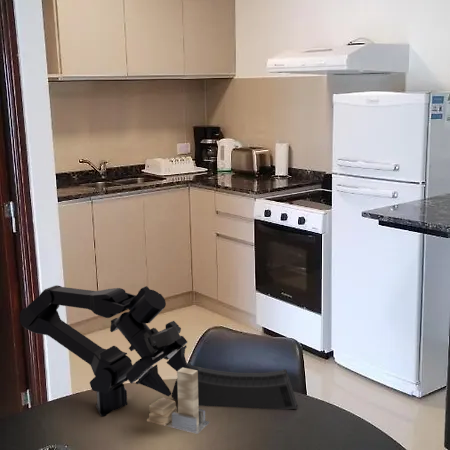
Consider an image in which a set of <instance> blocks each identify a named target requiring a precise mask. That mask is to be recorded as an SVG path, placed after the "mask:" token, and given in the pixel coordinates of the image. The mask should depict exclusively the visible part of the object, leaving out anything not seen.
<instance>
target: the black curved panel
mask: <svg viewBox="0 0 450 450" xmlns="http://www.w3.org/2000/svg"><path fill="white" fill-rule="evenodd" d="M187 365H188V368H189V369H193V370H198V405H199V406H200V407H223V408H244V409H245V408H246V409H247V408H249V409H267V410H293V409H294V410H297V408H298V403H297V400H296V396H295V393H294V389H293V386H292V383H291V379H290V376H289V374H288V371H287V369H286V368H285V369H283V370H277V371H270V372H232V371H231V372H230V371H222V370H215V369H210V368H204V367H200V366H195V365H193V364H191V363H190V362H187ZM170 396H171V398H172V399H173V400H174V401H178V386H177V379H176V380H175V382H174V384H173V389H172V391H171V395H170Z"/></svg>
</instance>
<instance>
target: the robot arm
mask: <svg viewBox="0 0 450 450" xmlns="http://www.w3.org/2000/svg"><path fill="white" fill-rule="evenodd" d="M166 304H167V303H166V299H165V297H164V296H163V294H162V293H160V292H158V291H156V290H154V289H150V288H149V287H148V285H146V286H144V287H141V288H140V289H139V290H138V293H137V294H132V293H129V292H127V291H126V290H125V289H123V288H121V287H115V288H106V289H101V290H92V289H91V290H89V289H81V288H73V287H65V286H61V285H53V286H50V287H48V288H44V289H43V290H42V291H41V293H40V294H39V295H38V296H37V297H36V298H34V299H33V301H31V302H30V303H29V304H28V305H27V306H26V307H23V308H22V309H21V310H20V313H19V321H20V325H21V326H22V327H23V328H24V329H25V330H26V331H27V330H28V331H29V332H32V333H33V334H38V335H45V336H48V337H50V338H51V339H53V340H54V341H55V342H57V343H58V344H60V345H61V346H62V347H63V348H65V349H67V350H68V351H69V352H72V353H73V354H74V355H76V356H77V357H78V358H80V360H82V361H84V362H86V364H89V366H90V367H91V370H92V372H93V376H94V377H93V378H92V379H91V380H90V381H89V385H90V388H91V391H92V392H93V391H94V392H96V401H97V402H96V404H95V407H96V409H97V411H98V413H99V415H100V417H106V416H107V415H108V414H110V413H112V412H114V411H117V410H119V409H121V408H122V407H125V406H127V405H128V393H127V389H126V387H125V384H124V383H125V382H127V381H129V383H130V384H131V385H132V384H133V383H135V384H136V385H141V386H145V387H147V388H149V389H152V390H154V391H156V392H158V393H160V394H162V395H164V396H166V397H170V396H171V395H172V391H171V390H170V388H169V386H168V385H167V384H166V381H164V379H163V378H162V376H160V374H159V369H158V364H157V363H158V362H160V361H162V360H163V359H164V360H167V361H166V362H165V363H166V364H167V365H168V366H170V367H171V368H172V369H173V370H175V371H176V372H177V371H178V370H180V369H181V368H187V369H189V368H188V365H187V364H188V362H187V359H186V356H185V355H186V354H185V353H186V349H187V344H188V340H187V339H186V337H184V335H180V333H181V331H182V328H181V326H179V324H178V323H177V322H176V321H175V320H172V321H170V322H168V323H166V324H165V328H164V329H162V330H160V331H158V329H157V328H156V327H152V328H150V327H149V326H148V324H150V323H152V321H153V320H154V319H155V318H156V317H157V316H158V315H159V314H160V313H161V312H162V311H163V310H164V309H165V308H166V306H167V305H166ZM60 306H63V307H71V308H78V309H85V310H89V311H92V312H93V314H94V315H97V316H100V317H102V318H104V319H110V318H113V317H115V316H117V315H119V314H121V315H119V317H115V318H113V319H111V320H110V328H109V331H110V333H113V332H115V331H118V330H119V332H120V333H121V335H122V336H123V337H124V338H125V340H126V341H127V342H128V343H129V345H130V346H128V350H130V352H132V351H135V352H136V353H137V354H138V355H139V358H140V359H138V360H136V361H135V362H134V363H132V362H133V361H132V359H131V358H130V356H128V353H127V352H125V351H122V350H121V349H120V348H119V347H118V346H116V345H112V346H110V347H109V348H107V349H106V348H103V347H101V346H100V345H99V344H98V343H96V342H95V341H93V340H91V339H90V338H89V337H87V336H85V335H84V334H83V333H81V332H79V331H78V330H76V329H75V328H74V327H73V326H71V325H69V324H68V323H66V322H65V321H64V320H62V319H61V317H60V315H59V311H58V309H59V308H60ZM127 310H129V311H127Z"/></svg>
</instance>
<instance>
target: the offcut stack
mask: <svg viewBox="0 0 450 450" xmlns="http://www.w3.org/2000/svg"><path fill="white" fill-rule="evenodd" d="M176 401H177V400H174V399H173V400H172V399H168V398H165V397H160V398H159V399H157V400H155V401H154V402H152V403H151V404H149V405H148V406H149V412H150V413H149V414H148V417H147V419H146V422H148V423H151V424H152V423H153V424H156V425H160V426H165V427H166V426H168V425H169V424H170V423H171V422H172V413H173V412H175V413H178V409H177V408H178V406H176Z"/></svg>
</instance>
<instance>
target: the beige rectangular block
mask: <svg viewBox="0 0 450 450" xmlns="http://www.w3.org/2000/svg"><path fill="white" fill-rule="evenodd" d="M176 376H177V377H176V380H177V386H178V400H177V408H178V409H177V412H178V413H179V414H183V415H188V416H192V417H196V420H197V425H198V424H199V409H200V408H199V405H198V370H193V369H187V368H181V369H180V370H178V371H176Z"/></svg>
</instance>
